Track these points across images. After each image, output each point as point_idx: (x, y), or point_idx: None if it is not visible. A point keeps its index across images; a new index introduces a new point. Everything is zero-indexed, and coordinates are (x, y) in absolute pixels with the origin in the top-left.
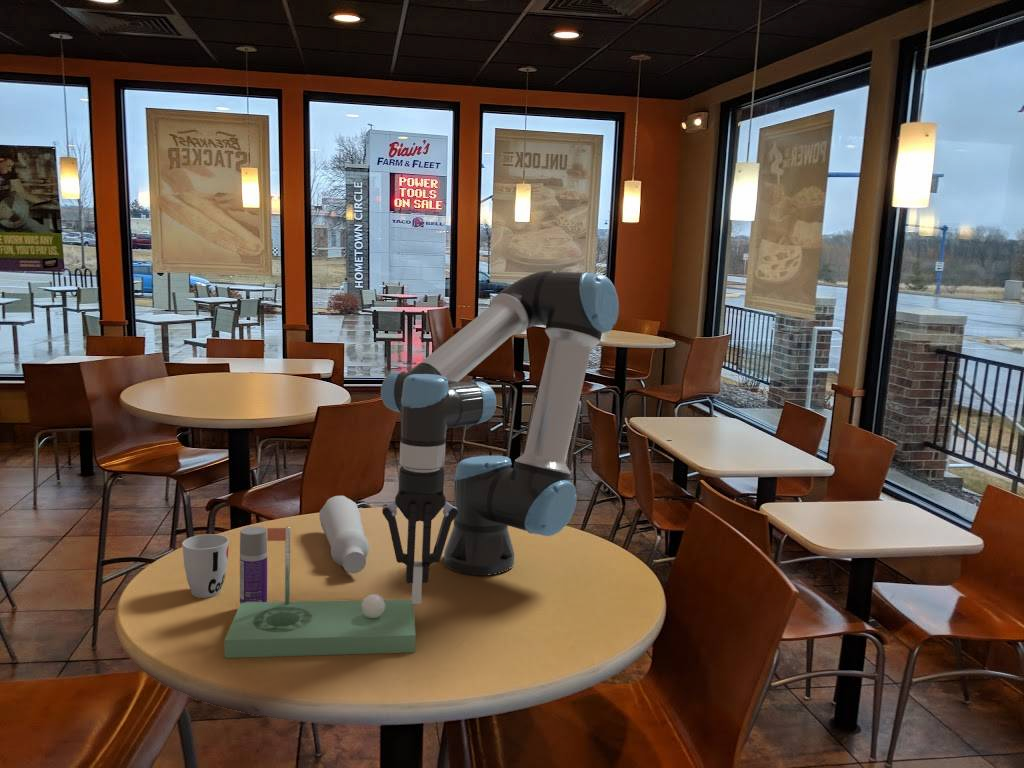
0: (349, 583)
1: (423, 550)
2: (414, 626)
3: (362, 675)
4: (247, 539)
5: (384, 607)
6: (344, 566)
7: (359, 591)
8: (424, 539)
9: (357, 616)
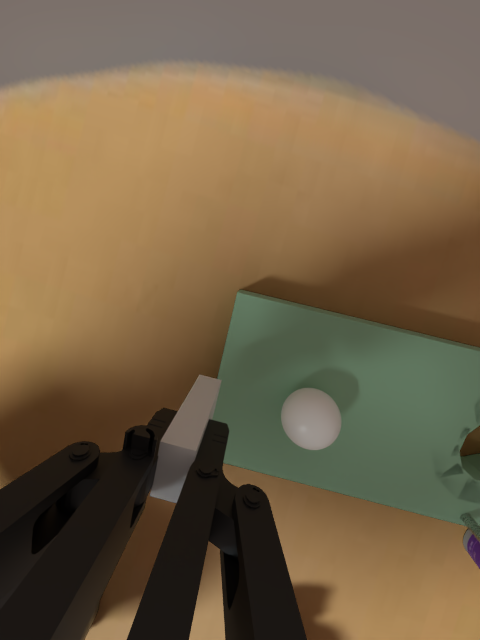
0: None
1: (118, 512)
2: (228, 333)
3: (364, 228)
4: None
5: (286, 402)
6: None
7: None
8: (64, 598)
9: None
